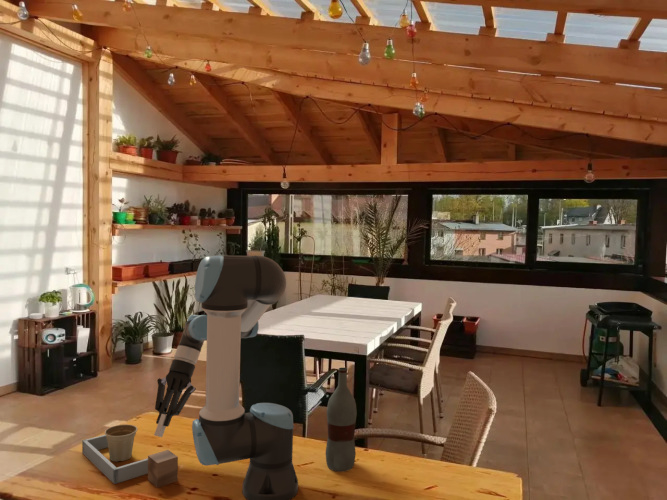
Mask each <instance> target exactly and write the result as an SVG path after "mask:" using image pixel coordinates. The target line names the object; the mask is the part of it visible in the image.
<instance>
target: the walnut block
mask: <svg viewBox="0 0 667 500" xmlns="http://www.w3.org/2000/svg"><path fill="white" fill-rule="evenodd" d="M147 458H148V473H147V481H148V482H150V483H151V484H152V485H153V486H154V487H156V488H161V487H164V486H167V485H170V484H173V483H175V482H178V481H179V480H178V475H179V474H178V473H179V470H178V469H179V466H178V465H179V456H178V455H176V454H175V453H173V452H172V451H171V450H169V449H166V450H163V451H158V452H156V453H152V454H149V455H147Z"/></svg>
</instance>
